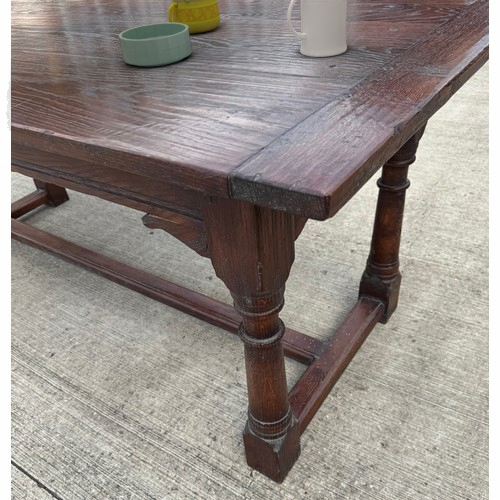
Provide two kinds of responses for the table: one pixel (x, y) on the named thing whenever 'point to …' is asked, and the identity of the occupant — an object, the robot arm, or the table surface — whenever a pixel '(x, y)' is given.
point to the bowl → (155, 44)
